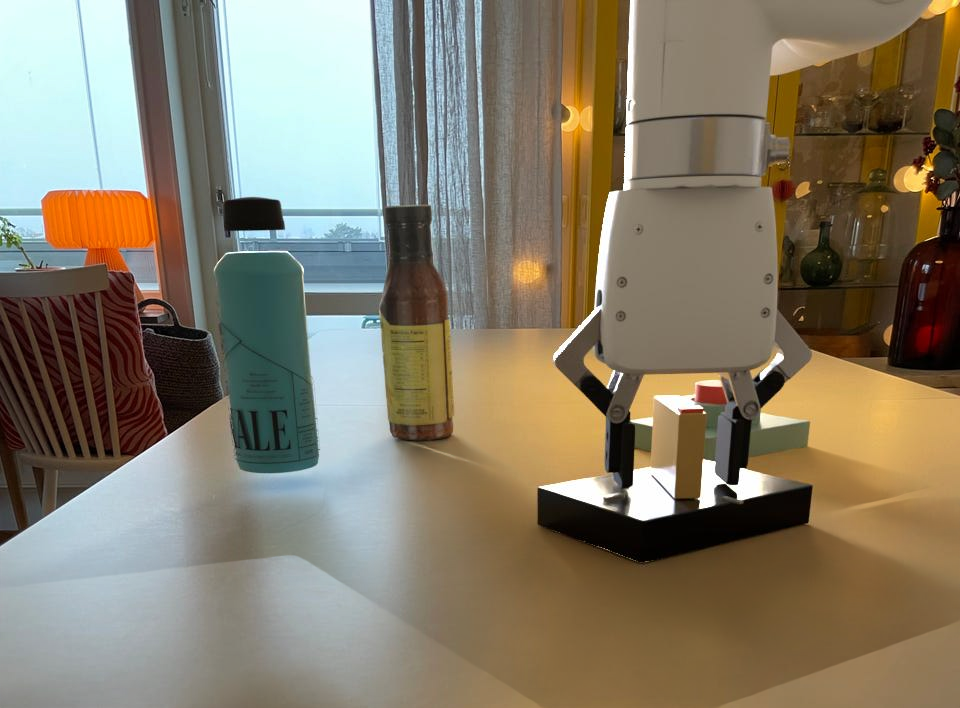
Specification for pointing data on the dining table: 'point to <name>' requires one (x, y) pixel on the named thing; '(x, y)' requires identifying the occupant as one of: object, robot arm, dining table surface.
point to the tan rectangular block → (678, 446)
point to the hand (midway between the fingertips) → (674, 479)
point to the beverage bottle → (266, 347)
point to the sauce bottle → (415, 331)
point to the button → (709, 392)
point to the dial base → (671, 512)
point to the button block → (764, 436)
